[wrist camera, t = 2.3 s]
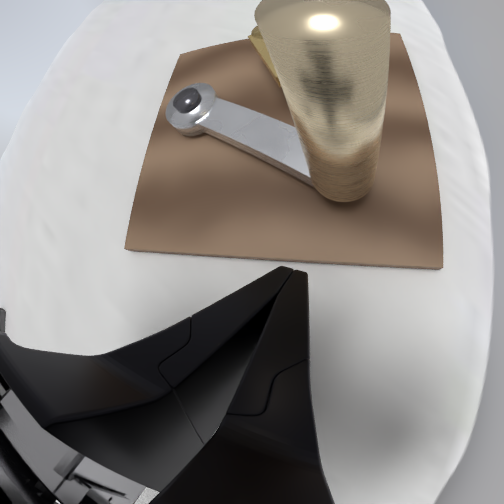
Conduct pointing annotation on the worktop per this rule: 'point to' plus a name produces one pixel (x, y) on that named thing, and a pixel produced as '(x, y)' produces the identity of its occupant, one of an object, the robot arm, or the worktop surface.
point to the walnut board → (285, 180)
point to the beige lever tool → (310, 95)
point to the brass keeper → (263, 52)
